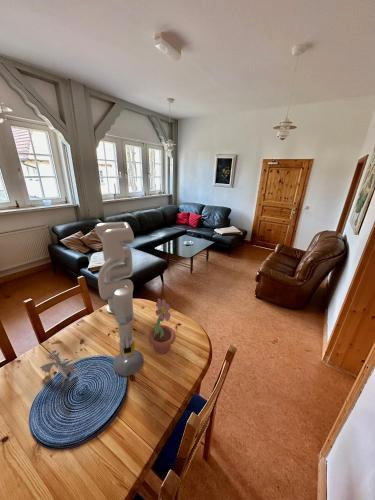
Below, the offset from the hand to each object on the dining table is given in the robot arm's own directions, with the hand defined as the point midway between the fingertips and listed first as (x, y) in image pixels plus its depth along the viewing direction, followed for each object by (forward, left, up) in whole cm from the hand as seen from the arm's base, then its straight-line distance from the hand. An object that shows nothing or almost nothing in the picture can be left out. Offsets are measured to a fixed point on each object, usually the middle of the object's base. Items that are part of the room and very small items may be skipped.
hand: (127, 345), depth 95 cm
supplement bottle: (0, 0, -5) cm, 5 cm away
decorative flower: (-3, +17, -11) cm, 20 cm away
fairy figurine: (-2, -28, -11) cm, 30 cm away
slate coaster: (0, 0, -11) cm, 11 cm away
